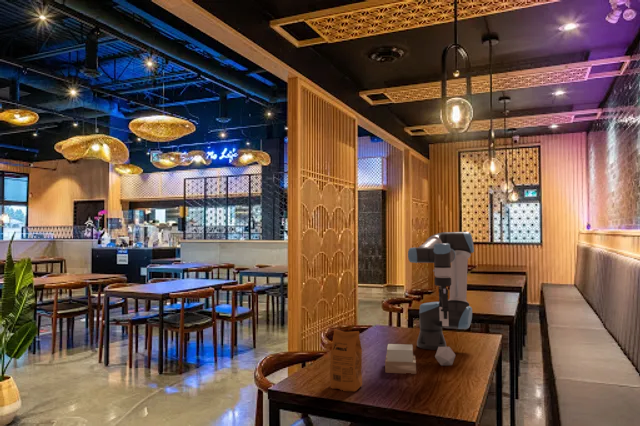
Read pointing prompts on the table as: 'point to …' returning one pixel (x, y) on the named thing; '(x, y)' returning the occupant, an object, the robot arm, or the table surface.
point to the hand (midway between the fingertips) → (444, 323)
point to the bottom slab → (400, 366)
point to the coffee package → (346, 361)
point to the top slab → (400, 352)
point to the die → (445, 356)
